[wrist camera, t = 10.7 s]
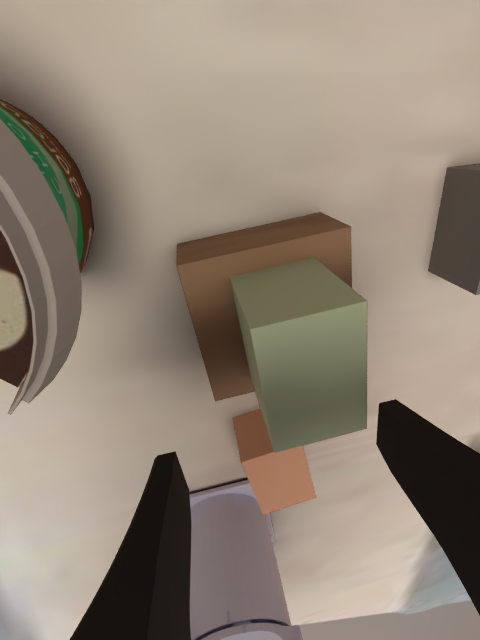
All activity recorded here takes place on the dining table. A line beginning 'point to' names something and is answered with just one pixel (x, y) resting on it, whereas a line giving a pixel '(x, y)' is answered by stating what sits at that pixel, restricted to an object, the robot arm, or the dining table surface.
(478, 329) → the dining table surface
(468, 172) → the charcoal brick
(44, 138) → the food container
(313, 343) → the sage brick
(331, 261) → the walnut block
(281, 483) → the terracotta brick
